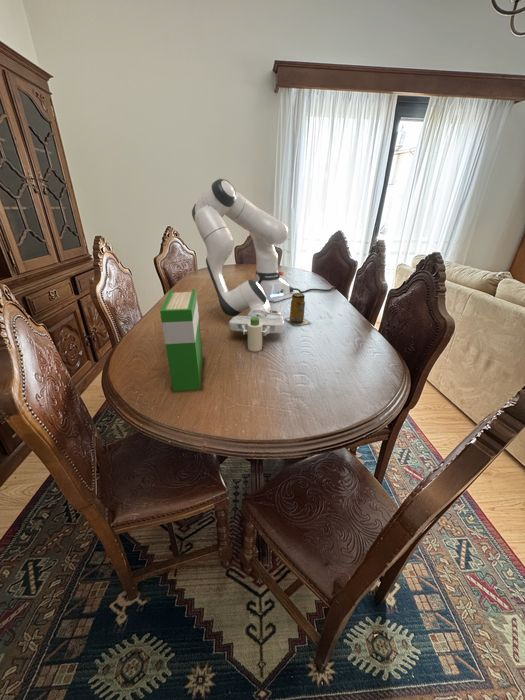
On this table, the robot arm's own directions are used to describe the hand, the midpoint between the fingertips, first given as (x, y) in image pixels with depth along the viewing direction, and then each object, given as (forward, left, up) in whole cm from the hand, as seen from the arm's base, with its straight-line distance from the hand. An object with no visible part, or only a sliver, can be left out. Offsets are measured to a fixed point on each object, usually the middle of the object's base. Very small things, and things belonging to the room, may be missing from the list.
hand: (254, 333), depth 100 cm
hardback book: (+25, +3, -7) cm, 26 cm away
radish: (-1, -1, -6) cm, 6 cm away
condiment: (-30, -13, -7) cm, 33 cm away
